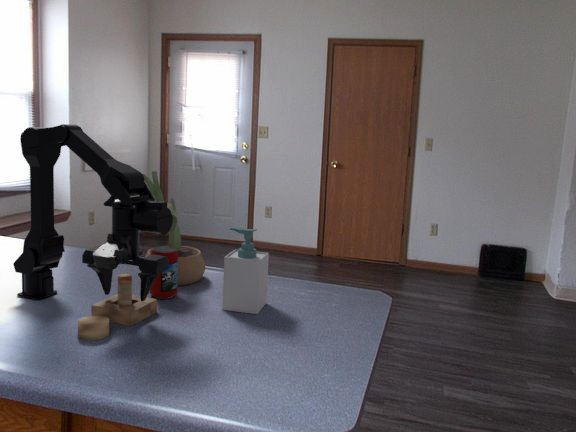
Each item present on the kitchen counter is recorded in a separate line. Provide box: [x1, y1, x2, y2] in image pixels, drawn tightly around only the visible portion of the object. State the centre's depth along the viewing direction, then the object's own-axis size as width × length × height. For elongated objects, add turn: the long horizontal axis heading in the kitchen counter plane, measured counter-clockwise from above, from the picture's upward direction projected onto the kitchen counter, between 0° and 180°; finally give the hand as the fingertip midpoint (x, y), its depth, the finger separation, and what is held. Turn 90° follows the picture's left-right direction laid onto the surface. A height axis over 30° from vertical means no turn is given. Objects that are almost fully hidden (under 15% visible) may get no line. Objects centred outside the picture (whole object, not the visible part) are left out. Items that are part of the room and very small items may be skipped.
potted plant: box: [142, 170, 206, 286], centre depth 150 cm, size 22×18×30 cm
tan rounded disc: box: [77, 315, 110, 341], centre depth 113 cm, size 6×6×3 cm
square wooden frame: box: [90, 293, 158, 327], centre depth 124 cm, size 10×10×3 cm
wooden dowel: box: [117, 273, 133, 307], centre depth 123 cm, size 3×3×9 cm
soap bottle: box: [221, 226, 270, 315], centre depth 133 cm, size 9×9×19 cm
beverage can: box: [149, 245, 179, 300], centre depth 138 cm, size 7×7×12 cm
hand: (124, 297), depth 124 cm, fingers open, 9 cm apart
